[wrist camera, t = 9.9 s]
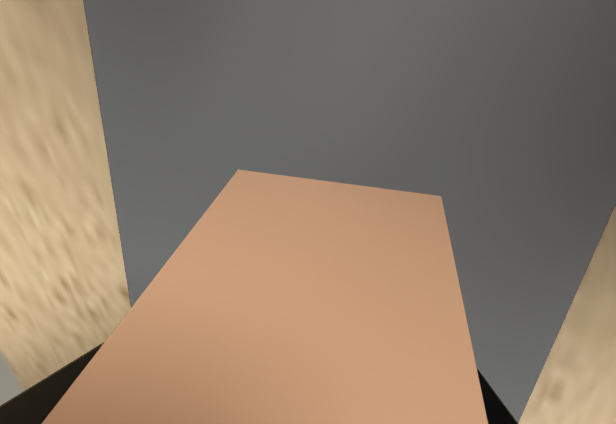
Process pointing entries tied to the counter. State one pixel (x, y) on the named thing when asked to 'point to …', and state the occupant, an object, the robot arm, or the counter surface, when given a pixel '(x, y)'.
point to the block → (293, 317)
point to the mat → (378, 133)
